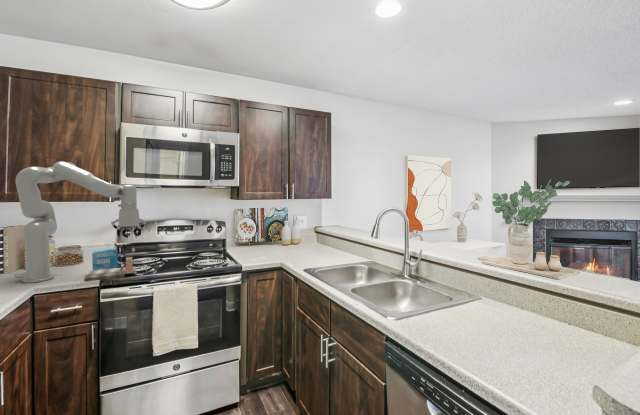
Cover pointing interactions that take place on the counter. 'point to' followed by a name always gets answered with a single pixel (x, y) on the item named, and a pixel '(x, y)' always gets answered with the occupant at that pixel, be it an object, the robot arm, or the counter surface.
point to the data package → (105, 259)
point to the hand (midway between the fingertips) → (129, 236)
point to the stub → (128, 266)
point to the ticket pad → (104, 274)
